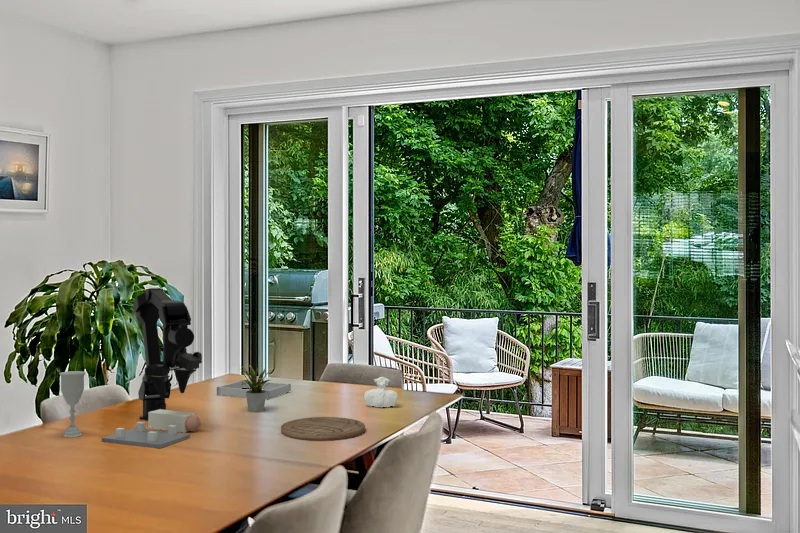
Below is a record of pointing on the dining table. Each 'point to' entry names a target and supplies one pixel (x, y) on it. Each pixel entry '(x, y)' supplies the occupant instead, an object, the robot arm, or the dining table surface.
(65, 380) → the chalice
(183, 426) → the white block
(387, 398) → the bust
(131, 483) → the dining table surface
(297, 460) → the dining table surface
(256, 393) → the house plant
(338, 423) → the trivet
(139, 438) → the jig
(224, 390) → the tray
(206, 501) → the dining table surface
